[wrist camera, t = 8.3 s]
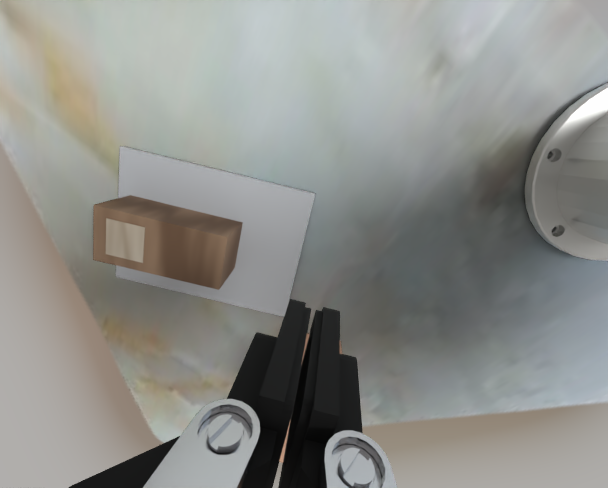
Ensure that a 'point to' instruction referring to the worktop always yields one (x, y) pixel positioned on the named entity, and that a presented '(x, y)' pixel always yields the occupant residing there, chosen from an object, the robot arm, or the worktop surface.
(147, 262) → the brown cardboard box
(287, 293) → the mat
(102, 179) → the worktop surface
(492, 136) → the worktop surface
